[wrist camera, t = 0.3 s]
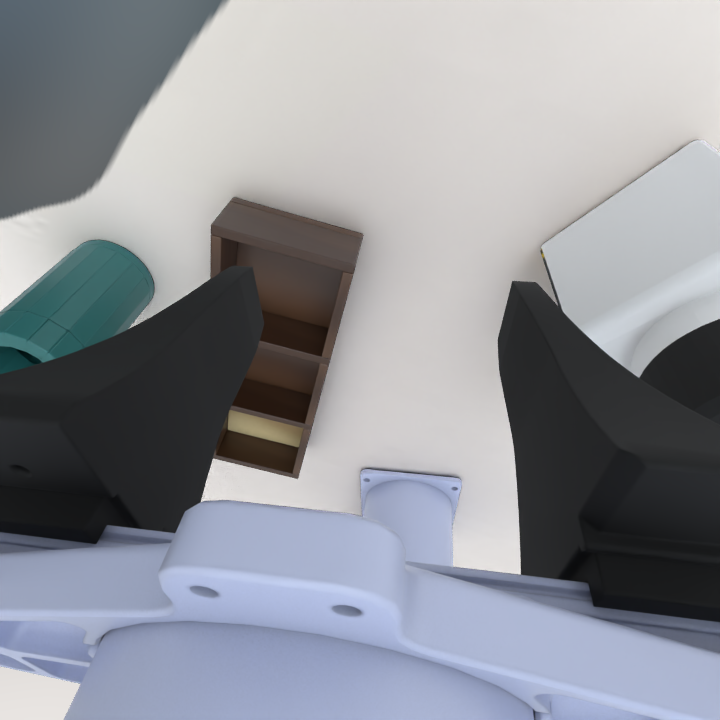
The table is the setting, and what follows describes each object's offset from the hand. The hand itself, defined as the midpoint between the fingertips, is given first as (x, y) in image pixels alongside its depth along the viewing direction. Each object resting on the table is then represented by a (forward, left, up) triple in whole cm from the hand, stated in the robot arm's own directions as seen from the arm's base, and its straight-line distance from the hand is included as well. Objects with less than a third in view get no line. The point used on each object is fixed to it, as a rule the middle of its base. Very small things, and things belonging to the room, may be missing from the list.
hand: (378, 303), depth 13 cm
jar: (-6, +16, -10) cm, 20 cm away
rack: (-11, +7, -10) cm, 17 cm away
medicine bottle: (-3, -12, -10) cm, 16 cm away
